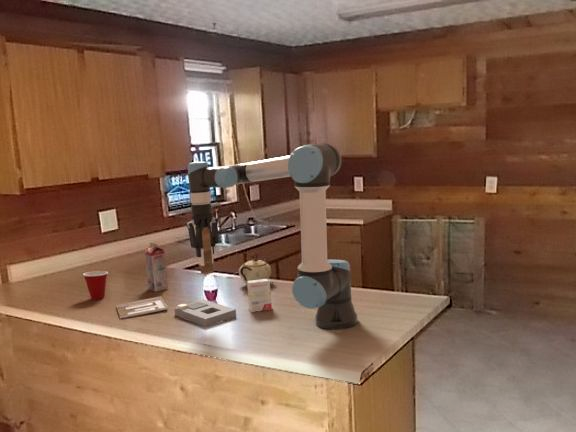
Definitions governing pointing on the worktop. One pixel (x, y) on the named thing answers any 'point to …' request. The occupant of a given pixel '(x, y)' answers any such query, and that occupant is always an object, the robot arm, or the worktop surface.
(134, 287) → the worktop surface
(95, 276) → the plastic cup
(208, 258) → the walnut rod
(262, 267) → the sugar bowl
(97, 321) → the worktop surface
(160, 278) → the juice carton
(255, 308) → the ink box
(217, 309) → the grey flat block
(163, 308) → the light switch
